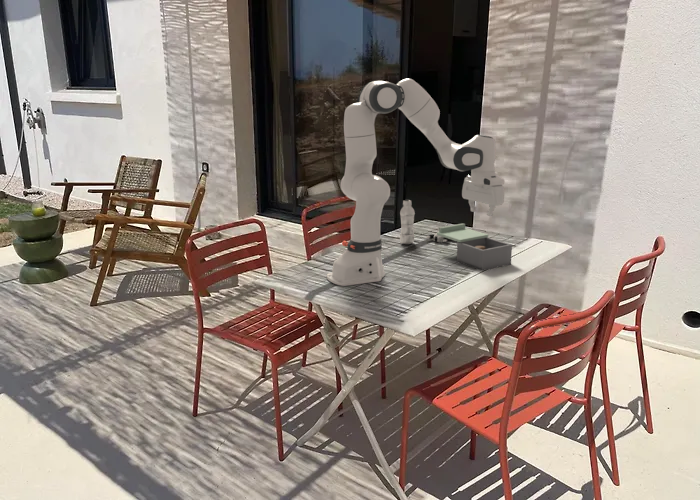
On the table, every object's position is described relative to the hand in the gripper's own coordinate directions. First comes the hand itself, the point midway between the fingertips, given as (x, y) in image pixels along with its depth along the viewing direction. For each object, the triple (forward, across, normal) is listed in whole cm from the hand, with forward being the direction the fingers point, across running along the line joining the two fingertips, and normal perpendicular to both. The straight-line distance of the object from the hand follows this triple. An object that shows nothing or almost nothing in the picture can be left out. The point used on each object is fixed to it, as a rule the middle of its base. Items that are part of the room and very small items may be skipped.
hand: (481, 213), depth 217 cm
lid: (+12, -14, +3) cm, 19 cm away
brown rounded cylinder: (+20, 0, 0) cm, 20 cm away
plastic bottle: (+21, -42, -6) cm, 47 cm away
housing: (+21, 0, +3) cm, 21 cm away
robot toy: (+21, -37, +12) cm, 44 cm away
